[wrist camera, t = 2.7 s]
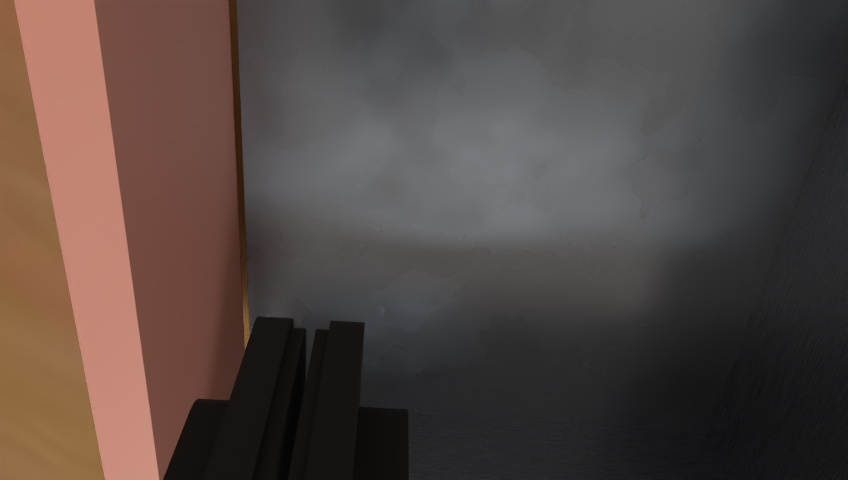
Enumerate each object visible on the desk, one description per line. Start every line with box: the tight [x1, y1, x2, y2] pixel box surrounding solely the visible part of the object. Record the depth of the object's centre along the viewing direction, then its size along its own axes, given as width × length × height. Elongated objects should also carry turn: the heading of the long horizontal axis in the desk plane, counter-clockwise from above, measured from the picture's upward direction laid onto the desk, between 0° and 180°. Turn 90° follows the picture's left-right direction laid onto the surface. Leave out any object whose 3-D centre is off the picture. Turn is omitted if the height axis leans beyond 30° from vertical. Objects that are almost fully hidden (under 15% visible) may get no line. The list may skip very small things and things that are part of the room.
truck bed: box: [236, 0, 848, 480], centre depth 18 cm, size 18×22×11 cm
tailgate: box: [14, 0, 245, 480], centre depth 16 cm, size 1×22×8 cm, turn 175°
